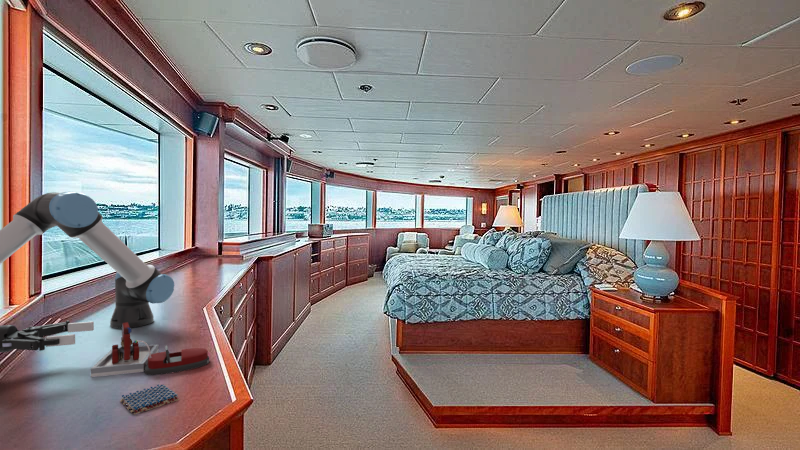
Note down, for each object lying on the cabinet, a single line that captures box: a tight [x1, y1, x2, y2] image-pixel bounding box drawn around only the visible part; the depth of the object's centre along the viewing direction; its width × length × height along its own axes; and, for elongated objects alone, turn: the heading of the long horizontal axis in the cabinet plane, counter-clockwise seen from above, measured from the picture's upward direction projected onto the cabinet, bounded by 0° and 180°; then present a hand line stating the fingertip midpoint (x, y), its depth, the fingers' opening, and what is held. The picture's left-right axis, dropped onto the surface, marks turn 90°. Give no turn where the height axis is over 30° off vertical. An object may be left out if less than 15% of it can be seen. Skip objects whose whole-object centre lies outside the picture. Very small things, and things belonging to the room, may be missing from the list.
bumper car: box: [133, 339, 210, 376], centre depth 121 cm, size 10×20×10 cm, turn 122°
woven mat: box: [119, 384, 180, 415], centre depth 99 cm, size 10×11×2 cm
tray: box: [90, 344, 160, 378], centre depth 123 cm, size 18×13×2 cm
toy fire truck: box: [111, 322, 140, 364], centre depth 124 cm, size 7×12×10 cm, turn 37°
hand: (84, 332), depth 120 cm, fingers open, 13 cm apart
